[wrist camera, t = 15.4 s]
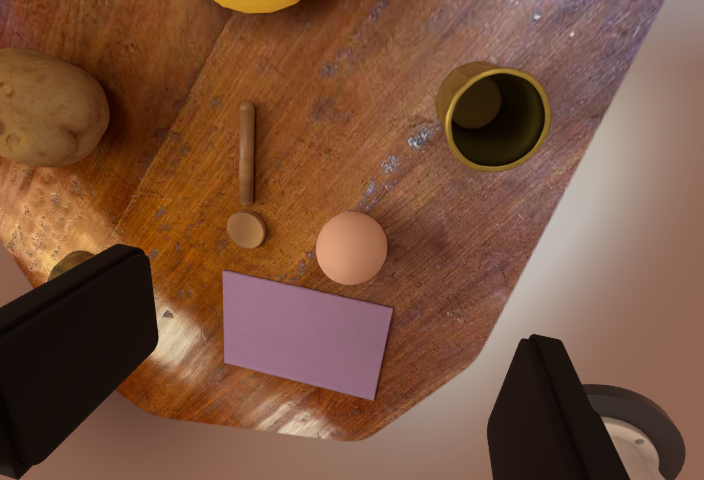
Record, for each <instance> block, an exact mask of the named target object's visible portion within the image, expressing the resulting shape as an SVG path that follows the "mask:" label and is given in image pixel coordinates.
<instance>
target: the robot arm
mask: <svg viewBox="0 0 704 480" xmlns="http://www.w3.org/2000/svg"><path fill="white" fill-rule="evenodd" d="M158 338H159V336H158V328H157V319H156V311H155V302H154V294H153V285H152V277H151V268H150V261H149V258H148V256H146V255H145V253H144V251H143V250H142V249H140V248H137V247H132V246H127V245H123V244H116V245H113V246H112V247H110V248H108V249H106V250H104V251H102V252H101V253H99V254H97V255H95V256H93V257H92V258H90V259H88V260H86V261H84V262H82V263H81V264H79V265H77V266H75V267H73V268H72V269H70V270H68V271H66V272H64V273H62V274H61V275H59V276H57V277H55V278H53V279H52V280H50V281H48V282H46V283H44V284H42V285H41V286H39V287H37V288H35V289H33V290H32V291H30V292H28V293H26V294H24V295H22V296H21V297H19V298H17V299H15V300H14V301H12V302H10V303H8V304H6V305H4V306H2V307H1V308H0V474H1V475H4V476H8V477H11V478H14V479H17V480H19V479H20V478H21V476H23V475H24V474H25V473H26V472H27V471H28V470H29V469H30V468H31V467H32V466H33V465H37V464H39V463H41V462H42V461H44V460H45V459H46V458H47V457H48V456H49V455H50V454H51V453H52V452H53V451H54V450H55V449H56V448H57V447H58V446H59V445H60V444H61V443H62V442H63V441H64V440H65V439H66V438H67V437H68V436H69V435H70V434H71V433H72V432H73V431H74V430H75V429H76V428H77V427H78V426H79V425H80V424H81V423H82V422H83V421H84V420H85V419H86V418H87V417H88V416H89V415H90V414H91V413H92V412H93V411H94V410H95V409H96V408H97V406H99V405H100V404H101V403H102V402H103V401H104V400H105V399H106V398H107V397H108V396H109V395H110V394H111V393H112V392H113V391H114V390H115V389H116V388H117V387H118V386H119V385H120V384H121V383H122V382H123V381H124V380H125V379H126V378H127V377H128V376H129V375H130V374H131V373H132V372H133V371H134V370H135V369H136V368H137V367H138V366H139V365H140V364H141V363H142V362H143V361H144V360H145V359H146V358H147V357H148V356H149V355H150V354H151V353H152V352H153V351H154V349H155V348H156V346H157V343H158ZM487 439H488V445H489V453H490V460H491V467H492V474H493V480H665V478H664V477H663V476H662V475H661V474H660V472H659V470H658V467H659V457H658V453H657V451H656V449H655V447H654V445H653V444H652V442H651V441H650V439H649V438H648V436H647V435H645V434H644V433H643V432H642V431H641V430H640V429H638V428H636V427H635V426H633V425H631V424H629V423H626V422H624V421H621V420H618V419H613V418H609V417H600V415H599V414H598V412H596V411H595V410H594V409H593V408H592V406H591V404H590V401H589V399H588V397H587V395H586V393H585V391H584V388H583V386H582V384H581V382H580V380H579V378H578V375H577V373H576V371H575V369H574V367H573V364H572V362H571V360H570V358H569V356H568V354H567V351H566V349H565V347H564V345H563V343H562V341H561V340H559V339H554V338H550V337H545V336H541V335H536V334H532V335H531V336H530V337H529V339H521V340H520V342H519V344H518V347H517V349H516V352H515V355H514V357H513V360H512V363H511V365H510V367H509V370H508V372H507V375H506V377H505V380H504V383H503V385H502V388H501V390H500V393H499V395H498V398H497V400H496V403H495V405H494V408H493V410H492V413H491V415H490V418H489V421H488V426H487Z"/></svg>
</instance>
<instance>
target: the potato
mask: <svg viewBox="0 0 704 480" xmlns="http://www.w3.org/2000/svg"><path fill="white" fill-rule="evenodd" d="M109 117H110V114H109V106H108V102H107V98H106V95H105V93H104V90H103V88H102V87H101V85H100V84H99V83H98V81H97V80H96V79H94V78H93V77H92V76H91V75H90V74H88V73H87V72H85V71H84V70H82V69H80V68H78V67H76V66H74V65H72V64H69V63H67V62H65V61H63V60H60V59H58V58H56V57H53V56H51V55H48V54H45V53H43V52H39V51H36V50H32V49H25V48H4V49H0V156H3V157H5V158H8V159H10V160H13V161H16V162H19V163H23V164H27V165H32V166H38V167H63V166H67V165H70V164H73V163H75V162H78V161H80V160H82V159H83V158H85V157H86V156H88V155H89V154H90V153H91V152H92V151H93V150H94V149H95V148H96V146H97V144H98V143H99V141H100V139H101V137H102V135H103V134H104V132H105V131H106V128H107V126H108V123H109Z"/></svg>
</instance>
